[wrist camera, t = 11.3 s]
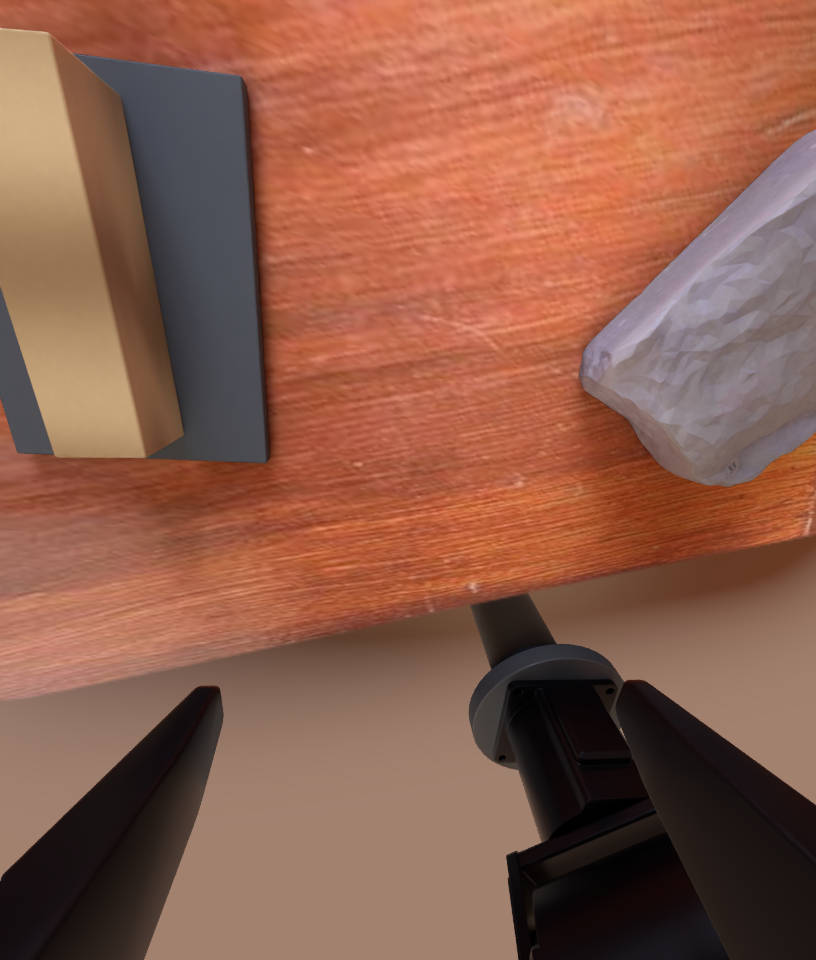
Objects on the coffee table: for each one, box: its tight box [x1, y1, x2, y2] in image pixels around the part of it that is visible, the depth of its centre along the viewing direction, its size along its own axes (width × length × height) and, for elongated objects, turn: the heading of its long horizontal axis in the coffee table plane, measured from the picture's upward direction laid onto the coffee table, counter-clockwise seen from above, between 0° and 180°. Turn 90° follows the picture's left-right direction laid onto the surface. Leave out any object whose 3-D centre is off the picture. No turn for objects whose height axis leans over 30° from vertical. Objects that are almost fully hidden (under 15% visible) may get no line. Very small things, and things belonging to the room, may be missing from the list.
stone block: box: [579, 130, 816, 487], centre depth 16 cm, size 12×5×10 cm
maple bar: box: [0, 28, 184, 458], centre depth 13 cm, size 11×3×3 cm, turn 178°
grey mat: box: [0, 53, 270, 463], centre depth 15 cm, size 13×10×1 cm
